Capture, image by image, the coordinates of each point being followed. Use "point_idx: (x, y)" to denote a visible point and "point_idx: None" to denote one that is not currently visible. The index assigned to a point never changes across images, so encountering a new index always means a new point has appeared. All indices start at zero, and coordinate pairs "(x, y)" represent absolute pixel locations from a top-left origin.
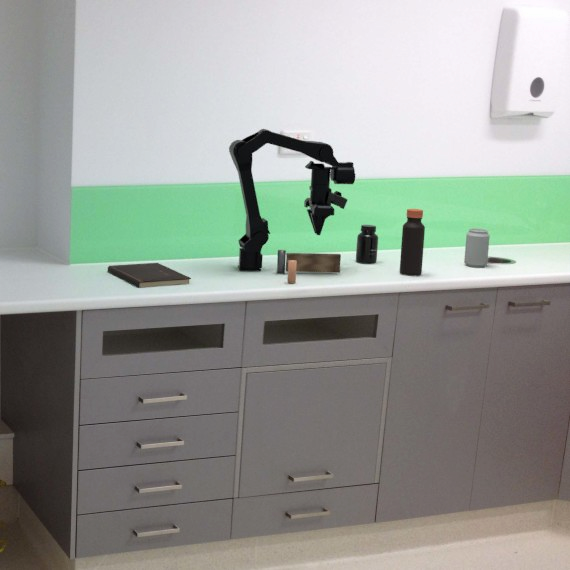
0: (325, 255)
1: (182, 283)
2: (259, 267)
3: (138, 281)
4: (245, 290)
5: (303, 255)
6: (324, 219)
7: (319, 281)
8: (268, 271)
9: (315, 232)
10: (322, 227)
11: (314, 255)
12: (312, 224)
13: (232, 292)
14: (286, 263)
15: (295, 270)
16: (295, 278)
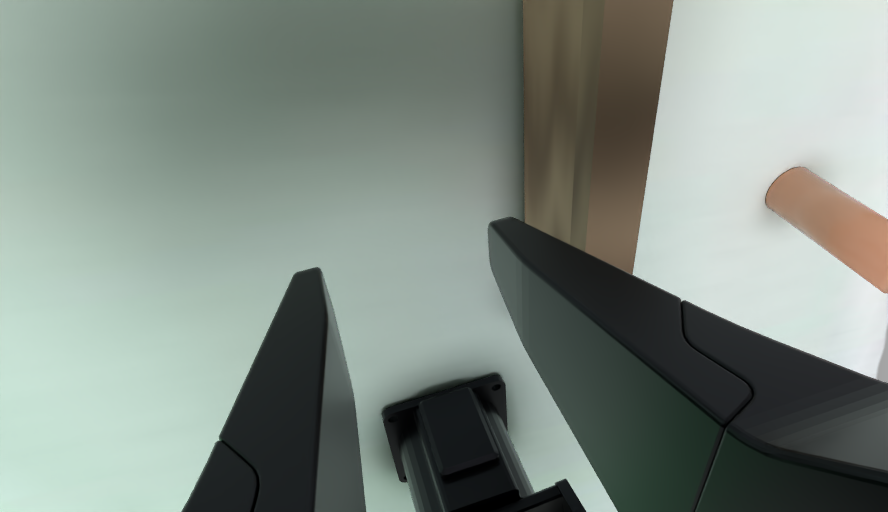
0: (664, 11)
1: None
2: (478, 397)
3: None
4: (862, 332)
5: (633, 231)
6: (883, 398)
7: (796, 12)
8: (484, 343)
9: (334, 316)
10: (632, 276)
11: (644, 136)
12: (362, 487)
13: (874, 359)
14: None
15: (875, 212)
16: (828, 182)
